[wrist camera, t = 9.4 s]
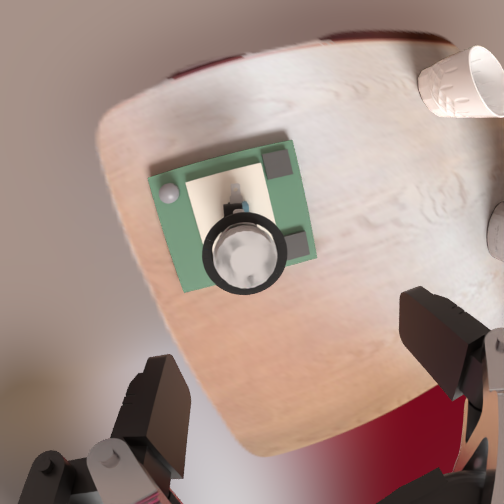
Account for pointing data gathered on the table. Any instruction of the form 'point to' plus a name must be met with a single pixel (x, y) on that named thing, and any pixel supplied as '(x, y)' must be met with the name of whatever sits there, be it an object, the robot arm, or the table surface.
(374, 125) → the table surface
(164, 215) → the board
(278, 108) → the table surface
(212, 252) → the push button
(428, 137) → the table surface
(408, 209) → the table surface
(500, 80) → the white cup
